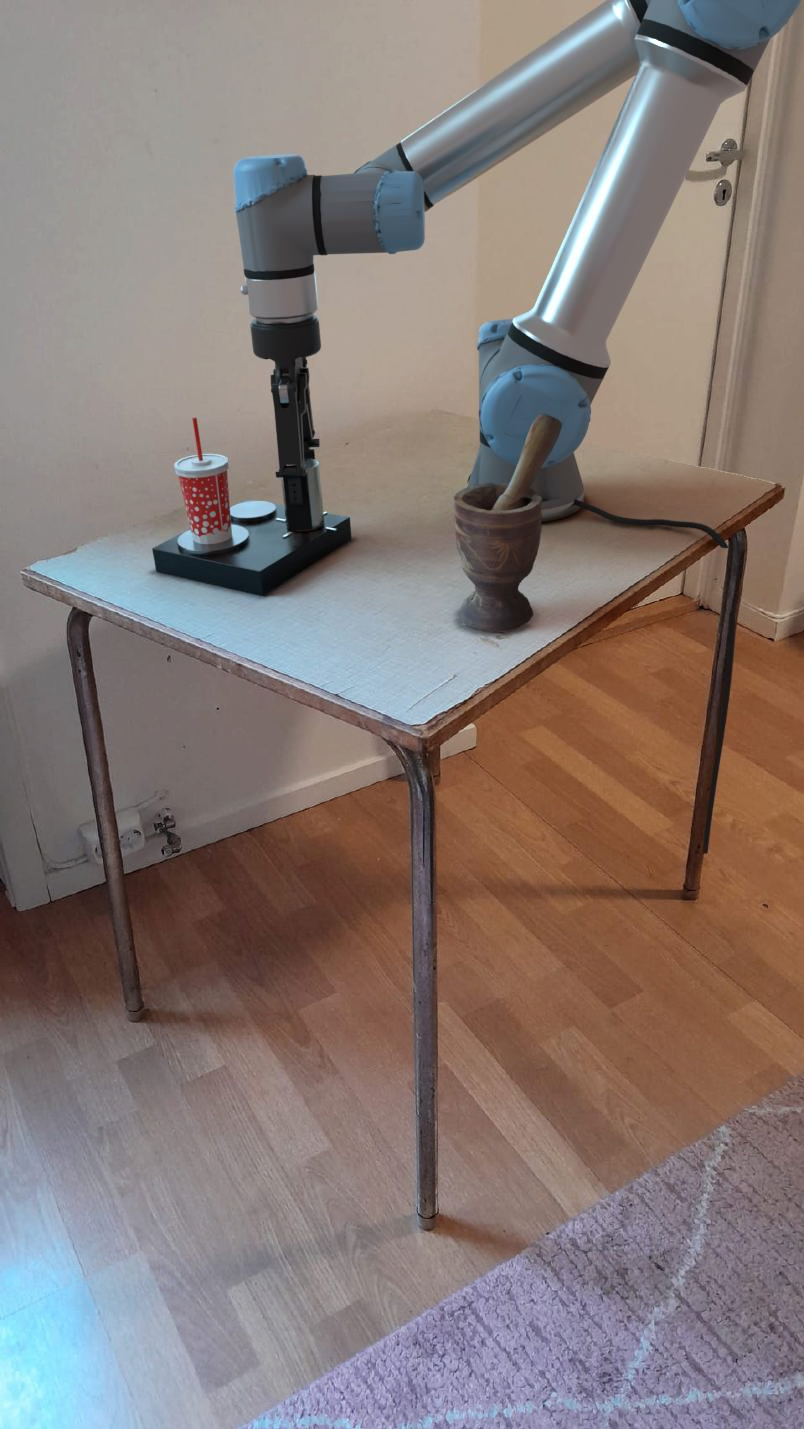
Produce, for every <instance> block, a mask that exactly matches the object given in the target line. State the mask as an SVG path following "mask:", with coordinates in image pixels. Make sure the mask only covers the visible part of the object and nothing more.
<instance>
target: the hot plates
mask: <svg viewBox="0 0 804 1429" xmlns="http://www.w3.org/2000/svg"><path fill="white" fill-rule="evenodd" d="M242 502H243V501H242ZM274 504H275V503H274V502H273V503H272V502H271V501H268V500H267V501H266V500H254V501H249V502H243V503H241V502H239V503H237V504H234V505H232V506H230V514H231V520H234V521H237V522H257V521H262V520H265V519H268V518H271V517H272V516H274V515H275V514H276V511H277V510H276V506H275V505H274ZM231 527H232V537H231V538H230V539H228V540H226V541H224V542H220V543H216V544H200V543H196V542H195V541H194V540H193V537H192V533H191V530H189V529H187V530H188V531H187V530H185V531H186V532H185V531H183V532H184V533H183V532H182V533H183V534H181V533H180V534H181V535H180V536H179V538H178V540H177V544H178V548H179V549H180V550H181V551H183V552H185V553H187V554H192V555H202V556H205V555H218V554H223V553H228V552H231V551H234V550H237V549H239V548H241V547H243V546H244V545H245V544H247V543H248V541H249V532H248V530H247V529H245V528H244V527H241V526H238V525H233V524H231Z"/></svg>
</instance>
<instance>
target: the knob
mask: <svg viewBox="0 0 804 1429" xmlns="http://www.w3.org/2000/svg"><path fill="white" fill-rule="evenodd" d="M304 464H305V469H306V473H307V476H308V486H309V496H310V506H311V516H312V526H313V528H312V530H316V529H319V528H321V527H322V526H323V525H324V512H325V511H324V505H323V504H324V503H323V493H322V492H323V491H322V482H321V469H320V463H319V461H318V460H317V459H316V458H315V459H310V458H304ZM287 466H289V465H287ZM280 481H281V482H280V483H281V491H282V499H283V506H284V509H285V518H286V526H287V528H288V529H289V527H288V518H287V509H286V500H285V491H284V483H283V477H281V478H280ZM312 530H292V531H298V532H305V531H312Z"/></svg>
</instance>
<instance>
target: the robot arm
mask: <svg viewBox="0 0 804 1429" xmlns="http://www.w3.org/2000/svg"><path fill="white" fill-rule="evenodd" d="M801 2H802V0H604V1H603V2H602V3H600V4H599V5H597V6H596V7H595V8H593V9H591V10H590V11H588V12H587V13H586V14H584V15H583V16H581V17H580V18H578V19H577V20H576V21H573V23H572V24H570V25H568V26H567V27H565V28H564V29H563V30H561V31H560V32H558V33H557V34H555V35H554V36H552V37H551V38H549V39H548V40H546V41H545V42H543V43H542V44H541V45H539V46H538V47H535V49H533V50H532V51H530V52H528V53H527V54H526V55H524V56H523V57H522V58H520V59H519V60H517V61H515V62H514V63H513V64H511V65H509V66H508V67H507V68H506V69H504V70H503V71H501V72H500V73H498V74H497V75H495V76H494V77H492V78H491V79H489V80H488V81H486V82H485V83H483V84H481V86H479V87H477V88H476V89H475V90H473V91H472V92H470V93H469V94H468V95H466V96H464V98H461V100H459V101H457V102H456V103H454V104H453V105H451V106H449V108H447V109H446V110H444V111H443V112H440V114H438V115H437V116H435V117H434V118H432V119H430V120H429V121H428V122H426V123H425V124H424V125H422V126H420V127H419V128H418V129H416V130H415V131H413V132H411V133H410V134H408V136H406V137H405V138H403V139H402V140H400V142H398V143H397V144H395V145H394V146H392V147H390V148H388V149H387V150H386V151H384V152H382V154H380V155H379V156H377V157H375V158H374V159H373V160H369V161H367V162H366V163H364V164H362V165H361V166H360V167H358V168H357V169H356V170H355V171H354V172H353V173H342V174H331V175H321V174H320V175H319V174H318V175H315V174H309V171H308V169H307V166H306V162H305V159H304V158H303V156H302V155H300V154H293V153H292V154H291V153H290V154H289V153H288V154H266V155H265V154H264V155H256V156H255V155H254V156H247V157H243V158H241V159H239V160H238V161H237V162H236V163H235V165H234V167H233V182H234V183H233V185H234V200H235V207H234V213H235V215H236V222H237V230H238V237H239V243H240V244H239V245H240V252H241V258H242V259H241V260H242V264H243V265H242V267H243V275H244V280H245V282H244V283H245V285H241V287H240V293H241V294H242V295H243V296H247V297H248V298H247V307H248V314H249V315H250V316H251V317H253V318H254V319H252V320H251V323H250V324H249V328H250V329H249V330H250V336H251V346H252V351H253V355H254V356H256V357H257V358H259V359H262V360H271V361H273V362H274V369H273V370H272V371H273V372H272V373H273V374H270V392H271V396H272V402H273V410H274V421H275V422H274V424H275V432H276V444H277V446H276V447H277V455H278V468H279V469H278V471H275V472H274V473H275V478H280V479H281V477H283V483H284V491H285V500H286V509H287V518H288V527H289V530H312V528H313V526H312V516H311V506H310V496H309V486H308V476H307V473H306V469H305V464H304V458H310V459H315V460H316V452H315V448H320V445H321V444H320V442H321V441H320V438H315V436H316V431H315V427H314V419H313V411H312V403H311V391H310V377H311V376H310V369H309V367H308V359H307V358H309V357H311V356H314V355H316V354H318V353H319V352H320V350H321V348H322V341H321V328H320V319H319V318H318V317H317V315H315V313H316V312H317V311H318V310H319V299H318V288H317V276H316V271H315V264H314V257H315V256H328V255H351V254H352V255H353V254H385V253H386V254H388V255H395V254H397V253H401V252H410V251H417V250H419V249H420V248H422V247H423V245H424V243H425V241H426V212H428V211H429V210H430V209H431V208H434V206H436V205H438V204H439V203H441V202H443V201H444V200H445V199H447V198H449V197H450V196H451V195H453V194H454V193H456V192H458V191H459V190H461V189H462V188H464V187H466V186H467V185H469V184H470V183H471V182H473V181H475V180H476V179H478V178H479V177H481V176H483V175H484V174H486V173H487V172H489V171H490V170H492V169H493V168H495V167H496V166H497V165H499V164H501V163H503V162H504V161H506V160H507V159H509V158H511V157H512V156H513V155H515V154H516V153H518V152H519V151H521V150H523V149H524V148H526V147H527V146H529V145H530V144H532V143H533V142H535V141H536V140H539V139H540V138H541V137H543V136H544V135H546V134H547V133H549V132H550V131H552V130H554V129H555V128H557V127H558V126H560V125H561V124H563V123H564V122H566V121H567V120H569V119H571V118H572V117H574V116H575V115H576V114H579V112H581V111H583V110H584V109H586V108H587V107H589V106H590V105H593V104H594V103H595V102H597V101H598V100H600V99H601V98H603V97H604V96H606V95H608V94H609V93H610V92H612V91H614V90H615V89H617V88H619V87H620V86H621V85H623V84H625V83H627V82H628V81H630V80H631V79H632V78H634V79H633V81H632V83H631V85H630V88H629V90H628V92H627V94H626V97H625V99H624V101H623V104H622V106H621V108H620V110H619V113H618V115H617V117H616V120H615V121H614V124H613V127H612V128H611V131H610V133H609V135H608V138H607V140H606V143H605V144H604V147H603V148H602V151H601V153H600V156H599V158H598V160H597V163H596V165H595V167H594V170H593V172H592V174H591V177H590V178H589V180H588V183H587V185H586V188H585V190H584V192H583V195H582V197H581V199H580V201H579V204H578V206H577V208H576V211H575V213H574V215H573V217H572V219H571V222H570V224H569V227H568V229H567V231H566V233H565V235H564V237H563V240H562V243H561V245H560V247H559V249H558V252H557V254H556V255H555V258H554V261H553V262H552V265H551V267H550V269H549V271H548V274H547V276H546V279H545V281H544V283H543V285H542V288H541V290H540V292H539V295H538V297H537V299H536V302H535V303H534V306H533V308H532V309H530V310H529V311H526V312H524V313H521V314H519V315H517V316H515V317H514V318H508V319H507V318H505V319H496V320H490V321H487V322H484V323H483V324H482V325H481V326H480V327H479V330H478V342H477V343H476V351H478V422H479V423H478V424H479V426H478V427H479V429H478V430H479V447H478V450H477V454H476V457H475V460H474V463H473V467H472V470H471V472H470V474H469V476H468V478H467V482H466V484H467V487H470V486H474V485H479V484H486V483H497V484H499V483H508V484H510V482H511V479H512V477H513V474H514V472H515V469H516V467H517V464H518V462H519V459H520V457H521V453H522V450H523V447H524V445H525V441H526V438H527V435H528V433H529V430H530V428H531V426H532V424H533V422H534V420H535V419H536V418H537V417H538V416H539V415H540V414H543V413H544V414H548V415H550V416H553V417H555V418H557V419H558V420H559V421H560V422H561V423H562V428H561V431H560V435H559V438H558V440H557V442H556V444H555V446H554V448H553V450H552V451H551V453H550V455H549V456H548V458H547V459H546V461H545V462H544V464H543V465H542V467H541V469H540V470H539V472H538V475H537V476H536V478H535V480H534V482H533V483H532V485H531V487H530V488H532V489H534V490H536V491H537V492H538V493H539V494H540V497H541V498H542V504H541V513H542V520H541V523H545V522H550V521H555V520H560V519H563V518H566V517H568V516H571V515H573V514H575V513H577V512H578V511H579V510H581V509H583V510H587V511H588V512H592V513H593V514H596V515H598V516H600V517H603V518H604V519H606V520H609V521H612V522H615V523H619V524H625V525H634V526H665V527H672V528H673V527H674V528H682V529H683V528H684V529H685V528H686V529H695V530H699V531H702V532H703V533H705V534H707V535H708V536H710V537H711V538H712V539H713V540H714V542H716V544H718V546H719V547H720V548H722V549H729V545H728V544H727V542H726V541H725V539H724V538H723V537H722V536H721V535H720V534H719V533H718V531H716V530H714V529H713V528H711V526H708V525H706V524H703V523H699V522H694V521H693V522H692V521H681V520H672V519H671V520H670V519H662V518H646V519H643V518H630V517H624V516H619V515H616V514H612V513H610V512H608V511H605V510H603V509H601V508H599V507H597V506H594V505H592V504H590V503H587V502H585V501H584V500H585V487H584V483H583V479H582V476H581V473H580V469H579V465H578V462H577V459H576V456H575V452H576V450H578V448H579V447H580V446H581V444H582V443H583V441H584V439H585V437H586V436H587V433H588V430H589V426H590V422H591V415H592V407H591V405H592V403H593V401H594V399H595V397H596V395H597V393H598V390H599V389H600V387H601V384H602V382H603V380H604V379H605V376H606V374H607V373H608V370H609V368H610V366H611V364H612V361H611V358H610V354H609V351H608V347H607V340H608V338H609V336H610V334H611V332H612V330H613V328H614V326H615V324H616V322H617V319H618V317H619V315H620V314H621V311H622V309H623V306H624V305H625V303H626V301H627V299H628V296H629V295H630V293H631V291H632V289H633V287H634V285H635V282H636V280H637V278H638V276H639V274H640V272H641V269H642V268H643V266H644V263H645V261H646V259H647V257H648V256H649V253H650V252H651V249H652V247H653V245H654V243H655V241H656V238H657V236H658V234H659V232H660V231H661V228H662V226H663V224H664V222H665V220H666V218H667V216H668V214H669V212H670V209H671V208H672V206H673V204H674V201H675V199H676V197H677V195H678V193H679V192H680V190H681V187H682V185H683V183H684V181H685V179H686V176H687V174H688V173H689V170H690V168H691V166H692V164H693V162H694V160H695V158H696V156H697V154H698V152H699V150H700V148H701V145H702V143H703V142H704V140H705V137H706V136H707V133H708V132H709V131H708V130H709V129H710V128H711V125H712V123H713V120H714V119H715V116H716V115H717V112H718V110H719V108H720V106H721V104H723V103H724V102H726V100H729V99H730V98H733V97H734V96H737V95H739V94H742V93H744V92H745V91H746V89H747V87H748V85H749V83H750V81H751V79H752V77H753V75H754V73H755V71H756V69H757V67H758V65H759V63H760V61H761V59H762V57H763V55H764V53H765V51H766V49H767V46H768V45H769V42H770V41H771V39H772V38H773V37H775V36H776V35H777V34H779V32H780V31H781V30H782V29H784V27H785V26H786V25H787V24H788V22H789V20H790V19H791V18H792V17H793V15H794V14H795V12H796V11H797V9H798V7H799V6H800V4H801ZM287 465H289V466H287ZM467 487H466V488H467ZM727 636H728V637H727V640H728V641H727V656H726V666H725V679H724V687H723V697H722V705H721V712H720V719H719V727H718V733H717V739H716V746H715V753H714V759H713V765H712V773H711V779H710V780H711V781H710V787H709V794H708V802H707V807H706V815H705V824H704V832H703V833H704V834H703V841H702V842H703V843H702V851H701V852H702V854H703V855H705V854H706V855H707V854H708V853H709V845H710V836H711V827H712V822H713V821H712V820H713V813H714V805H715V800H716V790H717V784H718V778H719V773H720V772H719V771H720V764H721V758H722V751H723V746H724V738H725V731H726V725H727V717H728V712H729V704H730V695H731V686H732V679H733V668H734V657H735V640H736V639H735V638H736V605H734V606H733V607H732V609H731V610H730V611H729V613H728V635H727Z"/></svg>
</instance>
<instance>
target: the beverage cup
mask: <svg viewBox="0 0 804 1429" xmlns="http://www.w3.org/2000/svg"><path fill="white" fill-rule="evenodd" d="M191 419H192V425H193V431H194V440H195V445H196V452H197V454H194V455H189V456H184V457H183V458H180V459H179V458H178V460H176V461H174V464H173V467H174V470H175V474H176V475H177V476H178V480H179V484H180V490H181V494H182V498H183V501H184V507H185V510H186V515H187V519H188V524H189V529H191V533H192V537H193V540H194V541H195V542H196V543H200V544H216V543H220V542H224V541H226V540H228V539H230V538H231V537H232V527H231V514H230V508H231V503H230V502H231V501H230V491H229V478H228V469H229V466H230V464H229V458H228V457H227V456H225V455H223V454H219V453H203V451H202V450H203V449H202V445H201V439H200V438H201V437H200V432H199V425H198V418H197V416H193V417H192V418H191Z"/></svg>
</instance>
